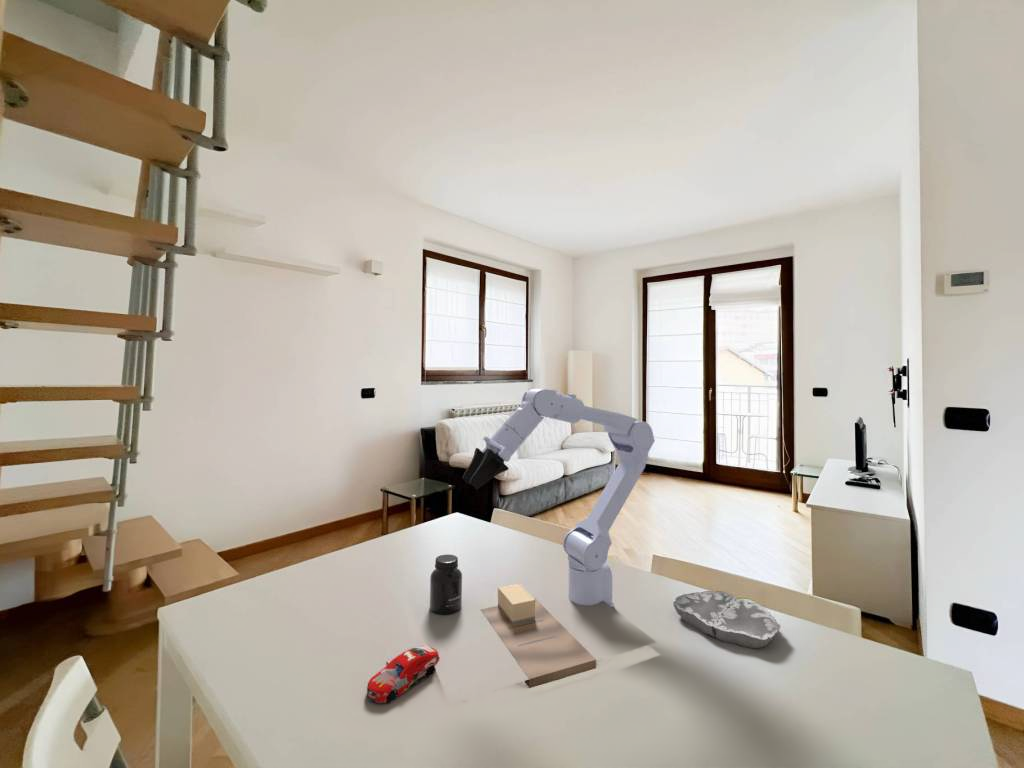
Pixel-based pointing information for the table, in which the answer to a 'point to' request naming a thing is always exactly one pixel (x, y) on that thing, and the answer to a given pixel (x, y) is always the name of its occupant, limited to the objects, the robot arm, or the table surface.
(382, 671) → the race car
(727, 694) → the table surface
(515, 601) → the block
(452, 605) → the supplement bottle
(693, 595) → the brain slice
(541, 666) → the board
